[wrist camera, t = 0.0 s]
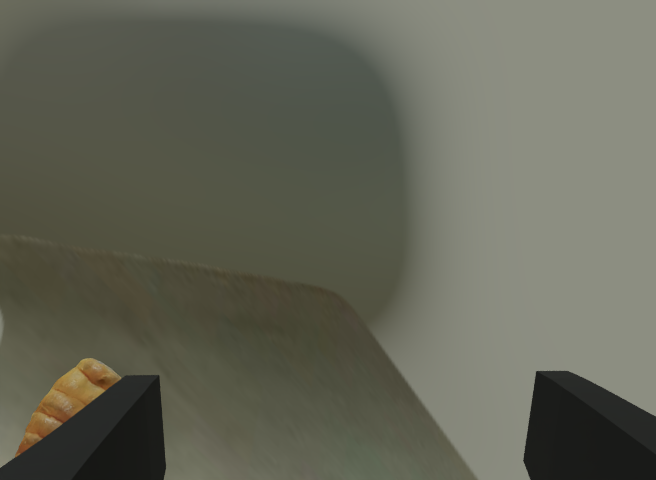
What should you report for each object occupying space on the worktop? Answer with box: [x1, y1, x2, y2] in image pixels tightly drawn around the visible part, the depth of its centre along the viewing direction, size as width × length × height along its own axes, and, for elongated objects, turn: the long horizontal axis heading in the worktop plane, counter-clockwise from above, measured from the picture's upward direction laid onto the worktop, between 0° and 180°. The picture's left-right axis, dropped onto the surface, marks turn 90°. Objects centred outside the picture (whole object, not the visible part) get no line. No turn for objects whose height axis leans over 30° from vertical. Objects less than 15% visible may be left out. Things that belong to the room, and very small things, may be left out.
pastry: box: [15, 358, 122, 457], centre depth 40 cm, size 9×7×4 cm
